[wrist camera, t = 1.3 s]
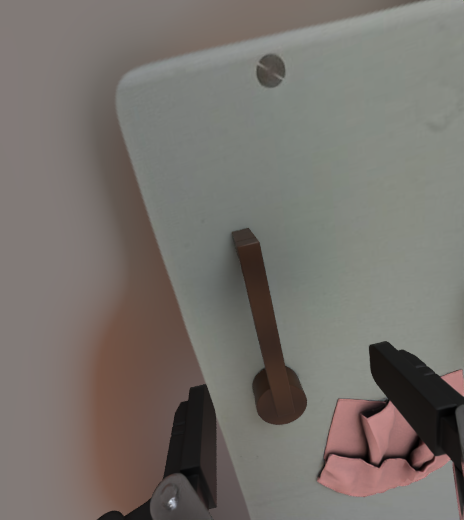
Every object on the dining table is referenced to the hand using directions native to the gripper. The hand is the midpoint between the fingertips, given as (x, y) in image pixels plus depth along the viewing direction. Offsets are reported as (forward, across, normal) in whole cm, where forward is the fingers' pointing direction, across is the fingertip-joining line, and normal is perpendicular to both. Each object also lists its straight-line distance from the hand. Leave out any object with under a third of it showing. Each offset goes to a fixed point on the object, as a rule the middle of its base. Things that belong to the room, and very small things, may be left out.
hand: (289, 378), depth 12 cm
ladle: (+12, 0, +5) cm, 13 cm away
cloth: (+13, -14, +26) cm, 32 cm away
